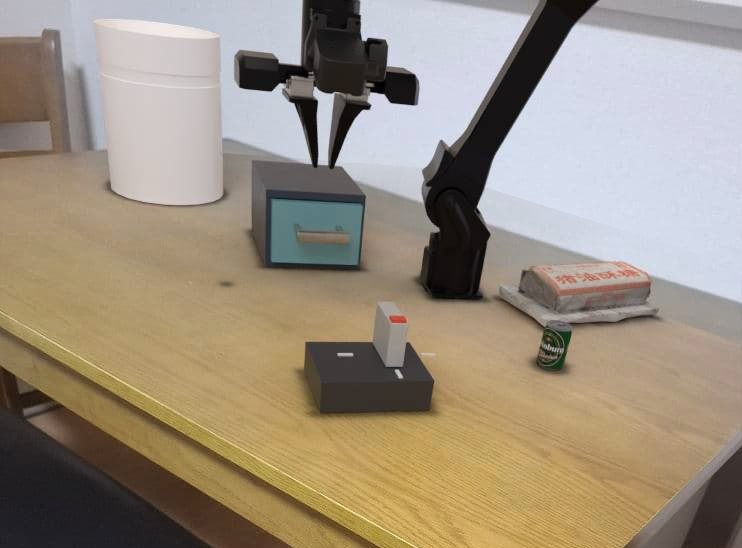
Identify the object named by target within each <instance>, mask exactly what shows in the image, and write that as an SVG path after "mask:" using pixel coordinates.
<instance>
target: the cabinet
mask: <svg viewBox="0 0 742 548" xmlns="http://www.w3.org/2000/svg"><path fill="white" fill-rule="evenodd" d="M274 198H284V199H301V200H319V201H336V202H351V203H356V204H361V205H362V206H363V210H362V222H361V234H360V245H359V257H358V265H339V264H309V263H279V262H271V259H270V245H271V199H274ZM366 202H367V195H366V193H365V192H364V191H363V190H362V189H361V188H360V187H359V185H358V184H357V183H356V181H355V180H354V179H353V178H352V177H351V175H350V174H349V173H348V172H347V170H346V169H345V168H344V167H343V166H340V165H335V166H334V169H329V167H328V164H318V167H317V168H314V167H313V166H312V163H299V162H286V161H285V162H284V161H274V160H273V161H271V160H256V159H252V160H251V233H252V236H253V239H254V241H255V243H256V247H257V249H258V251H259V254H260V257H261V259H262V262H263V265H264V267H267V268H294V269H296V268H297V269H326V270H327V269H328V270H331V269H332V270H360V269H361V260H362V259H361V257H362V248H363V237H364V225H365V213H366Z"/></svg>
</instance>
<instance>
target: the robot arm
mask: <svg viewBox="0 0 742 548" xmlns="http://www.w3.org/2000/svg"><path fill="white" fill-rule="evenodd" d="M599 1H600V0H539V1H538V3H537V5H536V7H535V9H534V10H533V12H532V14H531V15H530V18H529V19H528V21H527V23H526V24H525V26H524V27H523V30H522V31H521V33H520V35H519V37H518V38H517V40H516V41H515V44H514V45H513V47H512V49H511V51H510V52H509V54H508V56H507V57H506V59H505V60H504V63H503V64H502V66H501V67H500V69H499V71H498V72H497V75H496V76H495V78H494V80H493V81H492V83H491V85H490V87H489V89H488V90H487V93H486V94H485V96H484V97H483V99H482V101H481V103H480V104H479V106H478V108H477V110H476V111H475V113H474V115H473V116H472V118H471V120H470V122H469V123H468V125H467V127H466V128H465V130H464V132H463V133H462V134H461V136H459V137H458V138H457V139H456V140H455V141H454V142H453V143H452V144H451V145H450V146H449V145H448V144H447V143H446V142H445V141H444V140H443V139H439V141H438V143H437V146H436V148H435V151H434V154H433V156H432V158H431V160H430V161H429V163H428V165H426V166H425V167H424V168H422V169H421V174H422V177H423V181H422V183H421V189H420V191H421V196H422V201H423V205H424V209H425V213H426V216H427V217H428V220H429V221H430V222H431V223H432V224H433V225H434V226H435V227H436V228H438V231H436V232H433V231H432V232H429V233H430V234H429V241H428V245H425V246H424V248H423V252H422V253H423V255H422V261H421V268H420V274H419V278H418V280H419V281H420V282H421V283H422V285H423V286H424V288H426V290H427V291H428V293H429V294H430V295H431V296H432V298H433V297H434V298H439V299H480V300H481V299H484V295H485V294H484V292H482V290H480V285H481V282H482V281H481V280H482V274H483V271H484V264H485V260H486V254H487V249H488V241H489V239H490V237H491V236H492V235H491V234H492V233H491V231H490V230H489V226H488V224H487V223H486V221H485V219H484V216H483V214H482V212H481V210H480V209H479V208H478V206H479V204H480V200H481V198H482V197H483V193H484V191H485V188H486V185H487V183H488V178H489V175H490V172H491V168H492V166H493V162H494V159H495V157H496V155H497V153H498V151H499V150H500V148H501V146H502V145H503V143H504V141H506V138H507V137H508V136H509V133H510V132H511V130H512V128H513V127H514V125H515V124H516V122H517V121H518V119H519V117H520V115H521V114H522V112H523V110H524V108H525V107H526V105H527V104H528V102H529V100H530V99H531V97H532V96H533V94H534V92H535V91H536V89H537V88H538V85H539V84H540V82H541V80H542V79H543V77H544V76H545V74H546V72H547V71H548V70H549V68H550V66H551V65H552V63H553V60H554V59H555V57H556V56H557V54H558V53H559V51H560V49H561V48H562V46H563V44H564V43H565V41H566V39H567V37H568V36H569V34H570V33H571V31H572V29H573V28H574V27H575V26H576V25H577V23H578V22H579V21H580V20H581V19H582V18H583V17H585V15H587V13H588V12H589V11H590V10H591V9H593V8H594V6H595V5H596V4H598V2H599ZM361 3H362V1H361V0H302V5H301V32H300V34H301V35H300V63H299V64H295V63H285V62H279V61H280V59H279V58H278V57H277V56H276V55H275V54H274V53H272V52H264V51H255V50H246V49H239V50H238V51H237V52H236V54H234V57H233V80H234V82H235V83H236V85H237V87H238V88H239V89H241V90H248V91H258V92H268V93H269V92H271V93H272V92H273V91H274V90H275V89H276V88H277V87H278V86H279V85H280V84H282V85H283V86H284V87H283V88H281V91H282V92H281V94H282V96H283V97H284V98H285V99H286V100H287V101H288V103H292V104H293V105H294V107H295V110H296V113H297V116H298V118H299V120H300V121H299V122H300V124H301V127H302V131H303V135H304V139H305V142H306V146H307V151H308V154H309V158H310V162H311V164H312V166H313V167H314V168H317V167H318V165H319V154H320V153H319V135H318V134H319V133H318V107H319V100H318V99H317V98H316V97H315V96H314V91H315V88H316V89H317V90H318V91H320V92H321V93H323V94H328V95H332V94H333V103H332V110H331V111H332V112H331V122H330V131H329V139H328V149H327V165H328V167H329V169H334V166H336V164H337V161H338V158H339V156H340V153H341V151H342V148H343V146H344V143H345V140H346V138H347V135H348V133H349V131H350V129H351V128H352V125H353V123H354V122H355V120H356V118H357V117H358V116H359V115H360V114H361V112H362V111H370V110H371V108H372V105H373V104H371V103H370V102H369V97H371V94H372V93H373V94H378V95H384V96H385V98H386V99H387V101H388V102H389V104H392V105H402V106H403V105H404V106H412V107H413V106H418V105H419V98H420V88H421V87H420V80H419V79H418V76H417V75H416V74H415V73H413V72H412V71H411V70H408V69H407V68H405V67H400V66H399V67H398V66H390V65H388V57H389V45H388V42H387V40H386V39H384V38H378V37H377V38H376V37H367V38H366V40H363V36H362V31H361V30H362V15H361Z"/></svg>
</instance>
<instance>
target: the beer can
mask: <svg viewBox="0 0 742 548" xmlns="http://www.w3.org/2000/svg"><path fill="white" fill-rule="evenodd" d="M546 324H547V325H546V326H545V327H544V329H543V333H542V335H541V340H540V345H539V348H538V352H537V357H536V363H537V365H538V366H539V367H541V368H542V369H544V370H547V371H558V370H561V369H562V368H563V367H564V365H565V362H566V358H567V353H568V350H569V347H570V343H571V339H572V335H573V326H572V325H571V323H566V322H563V321H559V320H550V321H548V322H547V323H546Z"/></svg>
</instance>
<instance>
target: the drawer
mask: <svg viewBox="0 0 742 548" xmlns="http://www.w3.org/2000/svg"><path fill="white" fill-rule="evenodd" d="M362 210H363V206H362V205H361V204H356V203H351V202H336V201H319V200H301V199H284V198H274V199H271V245H270V259H271V262H279V263H309V264H339V265H358V257H359V245H360V234H361V222H362Z"/></svg>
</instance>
